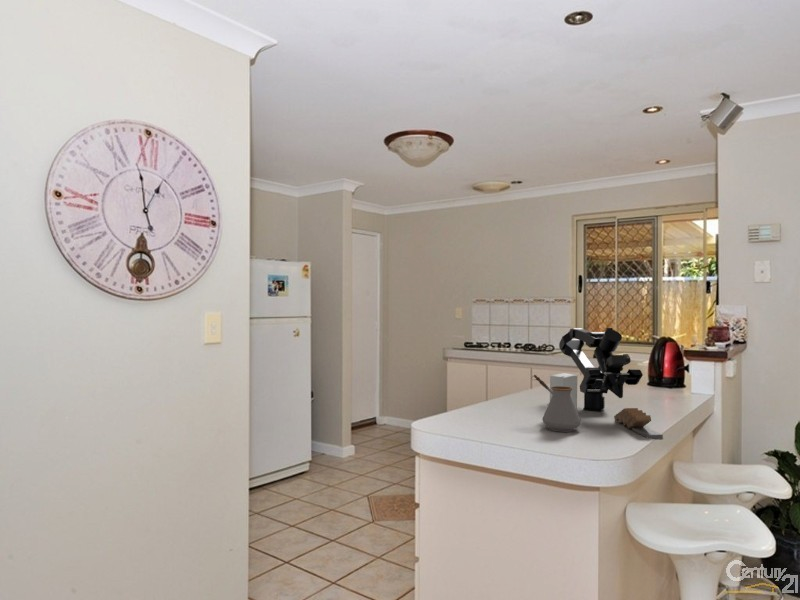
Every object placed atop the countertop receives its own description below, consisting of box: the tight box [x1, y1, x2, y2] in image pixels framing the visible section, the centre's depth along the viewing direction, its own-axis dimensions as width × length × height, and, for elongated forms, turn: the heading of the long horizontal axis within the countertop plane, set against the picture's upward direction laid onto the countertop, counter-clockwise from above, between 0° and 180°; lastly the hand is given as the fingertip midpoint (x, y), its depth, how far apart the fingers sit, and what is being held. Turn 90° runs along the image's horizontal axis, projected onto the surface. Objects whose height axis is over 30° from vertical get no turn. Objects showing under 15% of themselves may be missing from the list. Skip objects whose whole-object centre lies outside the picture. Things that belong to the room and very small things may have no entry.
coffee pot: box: [531, 374, 582, 433], centre depth 172 cm, size 21×12×15 cm, turn 19°
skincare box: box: [549, 372, 579, 411], centre depth 184 cm, size 8×6×15 cm
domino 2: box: [618, 409, 644, 425], centre depth 172 cm, size 2×4×10 cm
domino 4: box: [626, 414, 652, 430], centre depth 165 cm, size 2×4×10 cm
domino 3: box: [622, 412, 647, 427], centre depth 168 cm, size 2×4×10 cm
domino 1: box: [613, 407, 639, 422], centre depth 176 cm, size 2×4×10 cm
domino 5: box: [631, 426, 664, 439], centre depth 162 cm, size 2×4×10 cm
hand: (621, 397), depth 179 cm, fingers closed
